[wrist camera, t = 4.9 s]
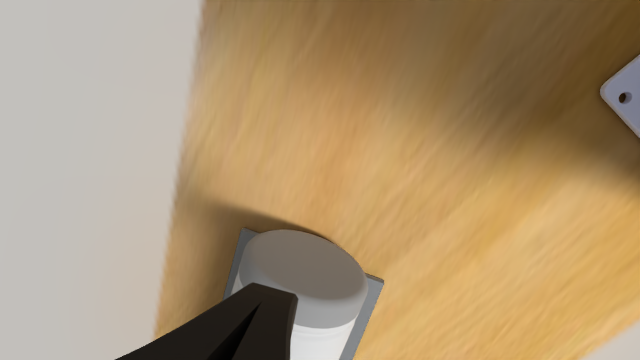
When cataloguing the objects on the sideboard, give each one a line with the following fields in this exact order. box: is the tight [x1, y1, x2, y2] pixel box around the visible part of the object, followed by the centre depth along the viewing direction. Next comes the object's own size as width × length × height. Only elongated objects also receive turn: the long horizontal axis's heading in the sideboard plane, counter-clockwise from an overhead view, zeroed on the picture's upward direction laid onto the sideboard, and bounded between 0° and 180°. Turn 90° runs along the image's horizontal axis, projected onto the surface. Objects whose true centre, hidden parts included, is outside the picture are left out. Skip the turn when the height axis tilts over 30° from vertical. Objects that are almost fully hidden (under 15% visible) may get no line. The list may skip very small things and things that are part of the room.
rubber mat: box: [223, 228, 384, 360], centre depth 22 cm, size 16×9×1 cm, turn 162°
